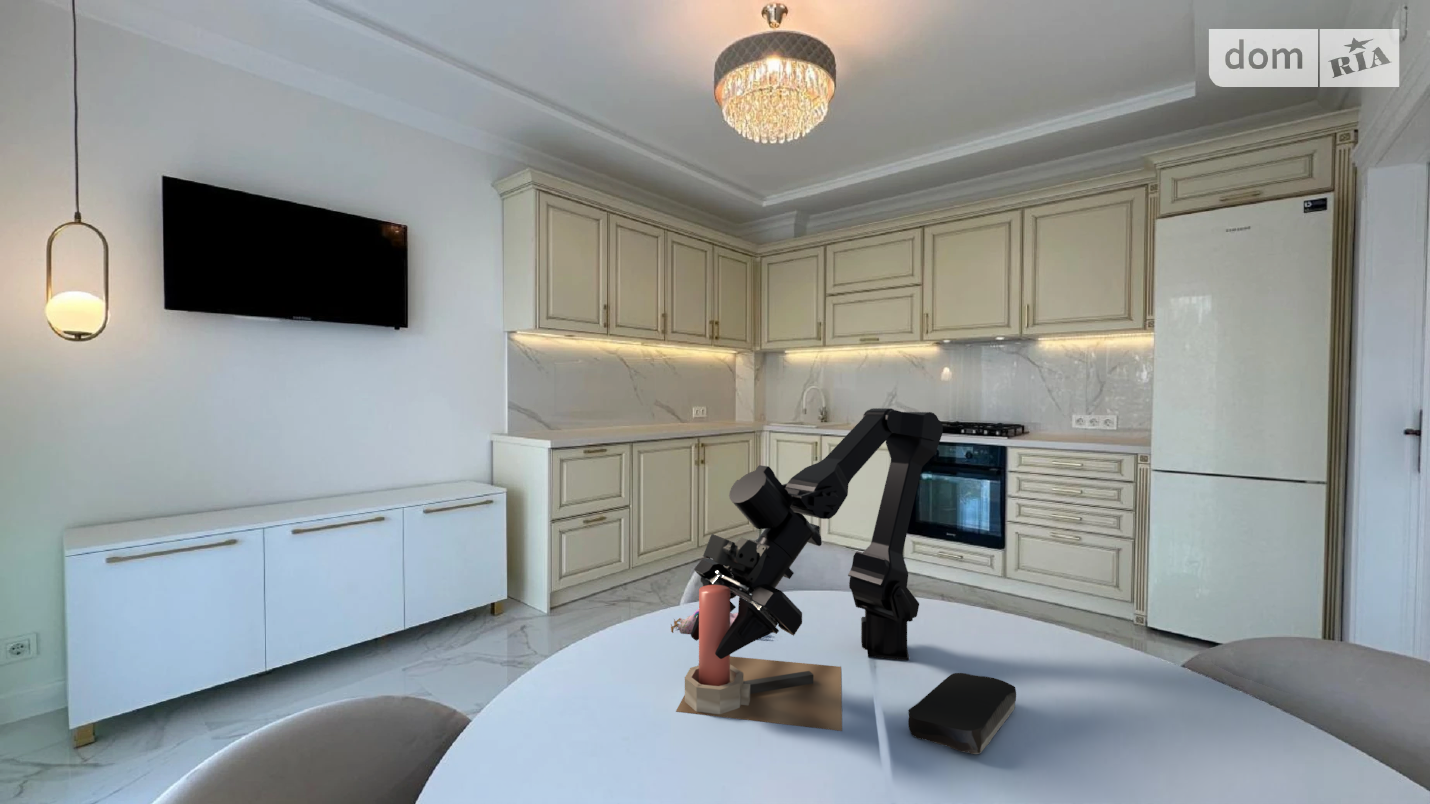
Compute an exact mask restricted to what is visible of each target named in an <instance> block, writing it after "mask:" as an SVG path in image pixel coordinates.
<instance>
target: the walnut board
mask: <svg viewBox="0 0 1430 804" xmlns="http://www.w3.org/2000/svg"><path fill="white" fill-rule="evenodd" d="M842 702H843V701H842V666H838V665H827V664H826V665H825V664H818V663H816V664H815V663H805V662H796V661H795V662H794V661H786V660H785V661H784V660H776V659H775V660H771V659H762V658H751V657H743V656H733V655H732V656H731V655H730V683H728V684H725V685H721V686H711V685H701V684H700V683H699V664H698V665H696V666H691V667H690V668H689V670H688V672H687V673H686V675H685V676H684V695H683V697H682V699H681V700H680V703H679V705H678V706H677V709H675V713H685V714H692V715H702V716H708V717H709V716H710V717H719V718H727V719H734V720H736V719H737V720H742V721H743V720H744V721H752V722H753V721H754V722H760V723H761V722H762V723H769V724H779V725H787V726H788V725H789V726H795V727H804V728H812V729H822V730H831V731H839V732H843V728H842V727H843V721H842V720H843V718H842V717H843V714H842V711H843V709H842V707H843V706H842Z"/></svg>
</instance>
